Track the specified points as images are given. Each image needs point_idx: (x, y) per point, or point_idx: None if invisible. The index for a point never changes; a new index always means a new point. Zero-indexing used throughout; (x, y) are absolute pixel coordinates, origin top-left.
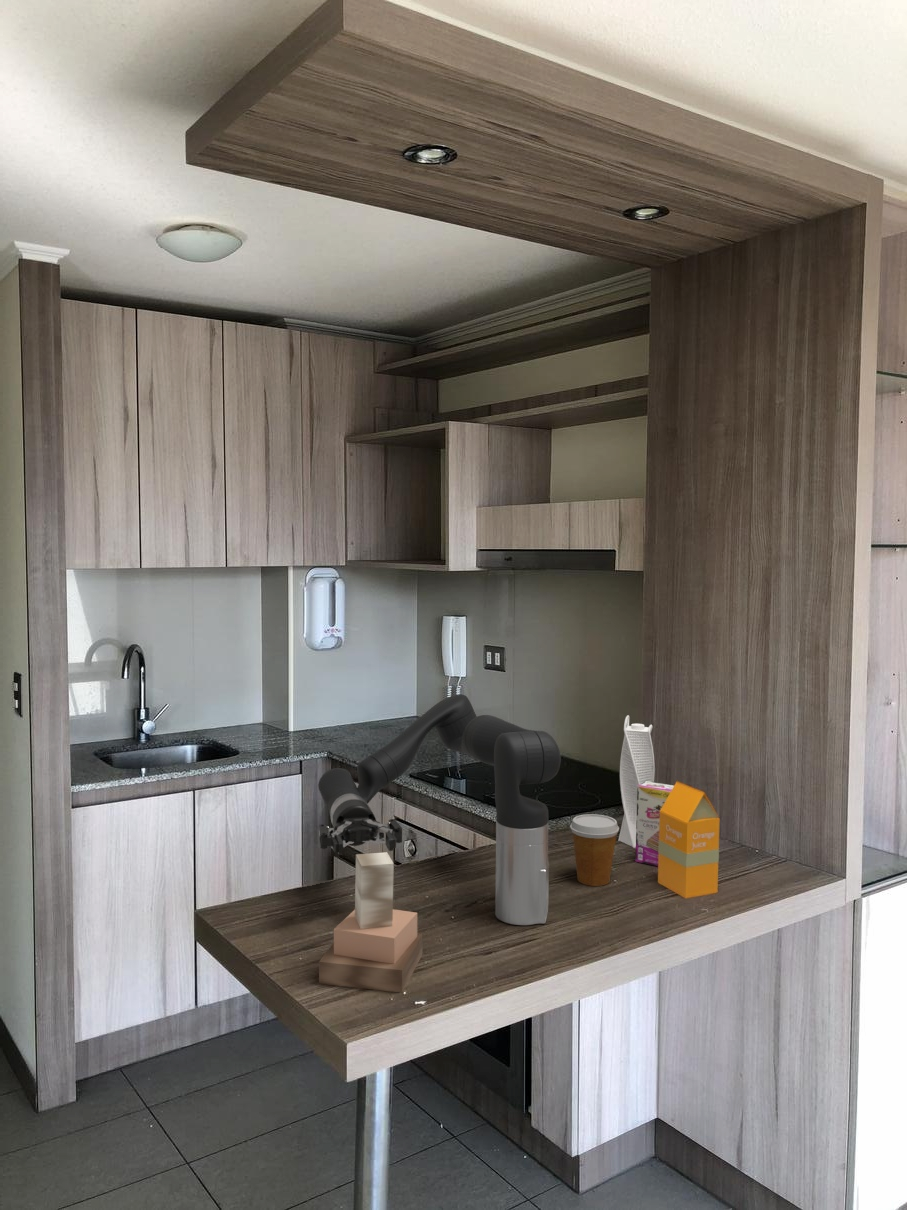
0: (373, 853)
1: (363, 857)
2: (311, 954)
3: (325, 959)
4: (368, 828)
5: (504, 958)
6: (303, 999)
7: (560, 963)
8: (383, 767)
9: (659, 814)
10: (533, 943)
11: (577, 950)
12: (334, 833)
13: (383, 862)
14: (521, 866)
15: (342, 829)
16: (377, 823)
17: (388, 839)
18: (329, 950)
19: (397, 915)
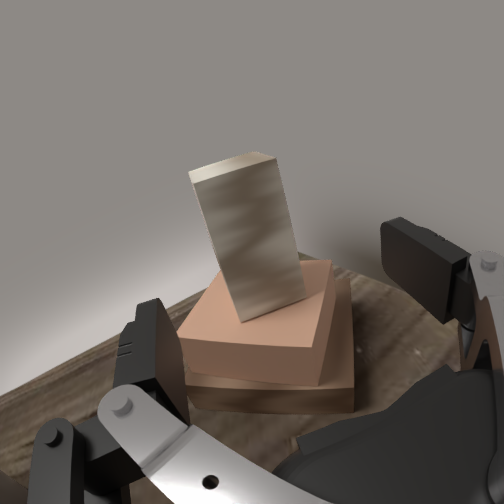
0: (229, 171)
1: (254, 159)
2: (406, 368)
3: (342, 284)
4: (311, 455)
5: (83, 398)
6: (354, 277)
7: (38, 385)
8: None
9: None
10: (34, 433)
11: (8, 410)
12: (489, 256)
13: (208, 166)
14: None
15: (490, 296)
16: (200, 497)
17: (161, 317)
18: (348, 304)
19: (215, 320)
